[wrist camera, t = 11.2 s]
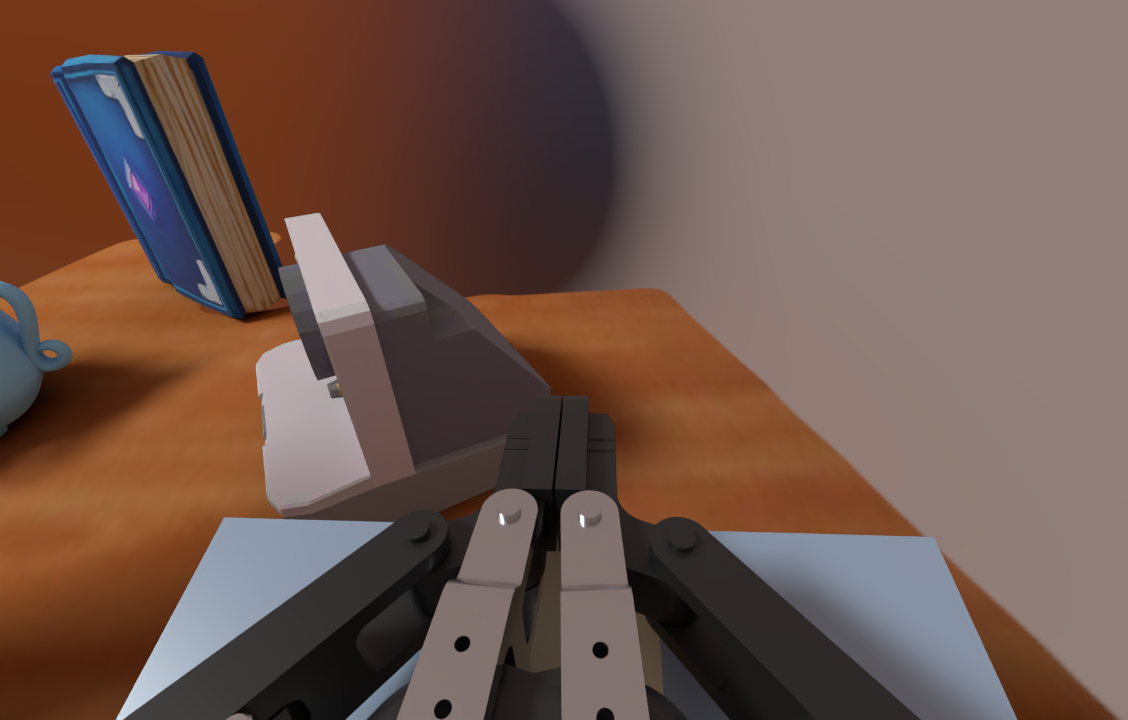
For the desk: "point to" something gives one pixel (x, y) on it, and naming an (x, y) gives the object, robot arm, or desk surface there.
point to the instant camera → (383, 388)
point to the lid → (783, 560)
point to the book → (176, 174)
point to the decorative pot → (23, 356)
